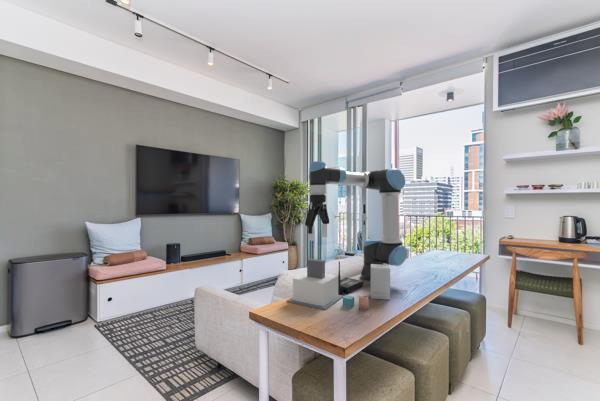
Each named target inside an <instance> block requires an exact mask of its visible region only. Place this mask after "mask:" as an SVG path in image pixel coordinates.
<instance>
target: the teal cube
mask: <svg viewBox="0 0 600 401" xmlns="http://www.w3.org/2000/svg"><path fill="white" fill-rule="evenodd" d="M343 296H344V297H343V298H342V307H343V308H348V309H352V308H353V307H354V306H355V296H352V295H349V294H345V295H343Z"/></svg>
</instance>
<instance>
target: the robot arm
mask: <svg viewBox="0 0 600 401" xmlns="http://www.w3.org/2000/svg"><path fill="white" fill-rule="evenodd" d="M308 180H309V193H310V195H309V202H310V203H312V204H308V210H307V214H306V219H305V222H304V225H305V226H306V227H307V242H308V241H310V242H314V241H315V226H314V223H315V221H316V219H317V216H319V218H320V221H321V223H322V224H321V238H328V225H329V224H330V218H329V214H328V209H327V203H326V202H327V196H326V193H327V191H326V189H327V187H326V186H327V185H337V186H338V185H341V186H351V187H352V186H354V187H355V186H356V187H359V188H360V189H368V190H375V191H379V194H380V196H381V198H382V199H381V200H382V204H381V205H382V207H381V208H382V236H383V238H382V239H367V240H364V243H363V266H362V269H361V271H360V278H361V279H363V280H366V281H370V282H371V264H381V265H390V266H391V267H392V266H395V267H400V266H402V265H403V264H404V263H405V261H406V259H407V257H408V251H407V248H406V246H404V245H403V241H402V239H400V224H399V223H400V222H399V220H400V218H399V215H400V214H399V195H400V194H401V192H402V189H404V187H405V185H406V177H405V175H404V173H403V172H402V171H401V169H398V168H386V169H377V170H371V171H370V170H369V171H361V172H353V171H352V172H351V171H347V170H346V169H345V168H343V167H339V166H337V167H336V166H328V165H326V161H321V160H318V161H311V162H310V164H309V175H308Z"/></svg>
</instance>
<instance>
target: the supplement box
mask: <svg viewBox="0 0 600 401" xmlns="http://www.w3.org/2000/svg"><path fill="white" fill-rule="evenodd" d="M370 298H371V299H373V300H387V301H389V300H391V268H390V266H389V264H383V265H381V264H371V281H370Z"/></svg>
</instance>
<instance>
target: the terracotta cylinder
mask: <svg viewBox="0 0 600 401" xmlns="http://www.w3.org/2000/svg"><path fill="white" fill-rule="evenodd" d="M358 310H360V311H362V312H363V311H364V312H365V311H369V296H365V295H359V297H358Z"/></svg>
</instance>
